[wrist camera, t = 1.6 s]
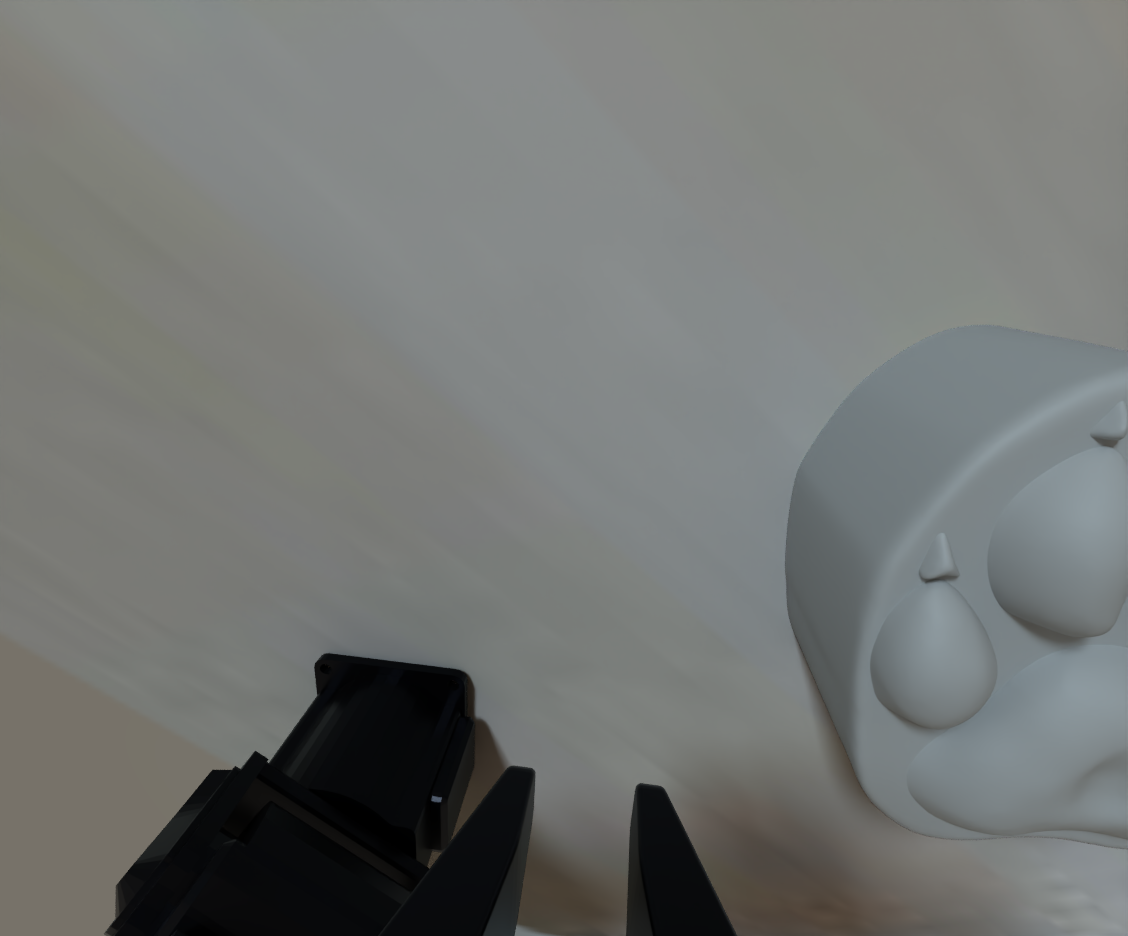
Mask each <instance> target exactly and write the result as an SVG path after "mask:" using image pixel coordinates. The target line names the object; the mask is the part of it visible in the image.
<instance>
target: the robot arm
mask: <svg viewBox="0 0 1128 936" xmlns="http://www.w3.org/2000/svg"><path fill="white" fill-rule="evenodd" d="M325 664H326V665H329V666H330V667H331V668H329V667H327V666H326V665H325ZM314 669H315V678H316V687H317V697H316V698H315V700H314V701H313V702H312V704H311V705H310V707H309V708H308V709H307V711H306V712H305V714H304V715H303V716H302V718H301V719H300V721H299V722H298V723H297V725H296V726H295V727H294V729H293V730H292V732H291V733H290V734H289V736H288V737H287V739H286V740H285V741H284V743H283V744H282V746H281V747H280V748H279V750H278V751H277V752H276V754H275V755H274V757H273V758H272V759H271V761H270V762H269V763H268V762H267V761H268V759H267V758H266V757H264V756H263V755H261V754H260V753H258V752H257V751H255V752H254V753H253V754H252V755H251V757H250V758H249V759H248V760H247V762H246V763H245V764H244V765H243V767H242V768H241V769H239V768H238V767H236V766H235V767H234V768H233V769H232V770H212V771H211V772H210V774H209V775H208V776H207V777H206V778H205V780H204V781H203V782H202V783H201V785H200V786H199V787H198V788H197V789H196V791H195V792H194V793H193V794H192V795H191V797H190V798H189V799H188V800H187V802H186V803H185V804H184V805H183V807H182V808H181V809H180V810H179V811H178V812H177V814H176V815H175V816H174V817H173V818H172V820H171V821H170V822H169V823H168V824H167V825H166V827H165V828H164V829H163V830H162V831H161V833H160V834H159V835H158V836H157V837H156V839H155V840H154V841H153V842H152V843H151V844H150V845H149V847H148V848H147V849H146V850H145V851H144V853H143V854H142V855H141V856H140V857H139V858H138V860H137V861H136V862H135V863H134V864H133V866H132V867H131V868H130V869H129V870H128V872H127V873H126V874H125V875H124V876H123V878H122V879H121V880H120V881H119V883H118V884H117V885H116V914H115V917H116V918H115V920H114V921H113V923H112V924H111V925H110V927H109V928H108V929H107V931H106V932H105V933H104V934H105V935H106V936H514V935H515V930H516V924H517V918H518V912H519V906H520V899H521V892H522V886H523V879H524V873H525V866H526V859H527V853H528V846H529V839H530V833H531V826H532V819H533V810H534V793H535V771H534V770H533V769H532V768H528V767H520V766H510V767H508V768H507V769H506V770H505V772H504V773H503V774H502V776H501V777H500V778H499V779H498V781H497V782H496V783H495V785H494V786H493V787H492V789H491V790H490V791H489V792H488V794H487V795H486V796H485V798H484V799H483V800H482V802H481V803H480V804H479V805H478V807H477V808H476V809H475V811H474V812H473V813H472V815H471V816H470V817H469V818H468V820H467V821H466V822H465V824H464V825H463V826H462V828H461V829H460V830H459V831H458V833H457V834H456V835H455V837H454V838H453V839H452V841H451V838H452V835H453V832H454V828H455V825H456V822H457V819H458V816H459V812H460V809H461V806H462V803H463V800H464V796H465V793H466V790H467V787H468V784H469V780H470V777H471V774H472V771H473V768H474V731H475V723H474V721H473V720H472V718H471V717H467V676H466V675H465V674H464V673H463V672H462V671H460V670H457V669H451V668H443V667H435V666H427V665H419V664H411V663H403V662H395V661H387V660H378V659H370V658H362V657H354V656H346V655H338V654H330V653H327V654H323V655H322V656H321V657H320V658H319V659H318V661H317V662H316V663H315V667H314ZM450 680H454V681H456V682H457V683H458V684H455V683H452V682H451V681H450ZM450 841H451V842H450ZM432 851H435V852H442V854H441V855H440V856H439V857H438V859H437V860H436V861H435V863H434V864H433V865H432V867H431V868H430V869H429V868H428V867H427V865H428V862H429V859H430V856H431V853H432ZM626 936H737V935H736V933H735V931H734V928H733V926H732V924H731V922H730V920H729V918H728V916H727V914H726V912H725V910H724V908H723V906H722V904H721V902H720V900H719V898H718V896H717V894H716V892H715V890H714V888H713V886H712V884H711V882H710V880H709V878H708V876H707V874H706V872H705V870H704V868H703V866H702V863H701V861H700V859H699V857H698V855H697V853H696V851H695V849H694V847H693V845H692V843H691V841H690V839H689V837H688V835H687V833H686V831H685V829H684V827H683V825H682V823H681V821H680V819H679V817H678V815H677V813H676V811H675V809H674V807H673V805H672V803H671V801H670V799H669V796H668V794H667V793H666V791H665V789H664V788H663V787H661V786H658V785H650V784H643V783H640V784H638V785H637V786H636V789H635V795H634V803H633V810H632V817H631V826H630V842H629V871H628V899H627V928H626Z"/></svg>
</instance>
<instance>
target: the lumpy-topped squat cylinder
mask: <svg viewBox="0 0 1128 936" xmlns="http://www.w3.org/2000/svg"><path fill="white" fill-rule="evenodd" d="M785 573H786V593H787V608H788V615H789V619H790V623H791V626H792V628H793V631H794V633H795V635H796V638H797V640H798V642H799V645H800V647H801V649H802V652H803V654H804V656H805V659H806V661H807V663H808V666H809V668H810V670H811V673H812V675H813V677H814V680H815V682H816V684H817V687H818V689H819V691H820V693H821V696H822V698H823V700H824V703H825V705H826V707H827V709H828V712H829V714H830V716H831V719H832V721H833V723H834V726H835V728H836V730H837V732H838V735H839V737H840V739H841V741H842V743H843V746H844V748H845V750H846V752H847V755H848V757H849V759H850V762H851V765H852V767H853V770H854V772H855V774H856V777H857V779H858V781H859V783H860V785H861V787H862V789H863V790H864V792H865V793H866V795H867V796H868V798H869V799H870V800H871V801H872V803H873V804H874V805H875V806H876V807H878V808H879V809H880V810H881V811H882V812H883V813H884V814H885V815H886V816H888V817H889V818H891V819H892V820H893V821H895V822H896V823H898V824H899V825H901V826H903V827H905V828H906V829H908V830H910V831H913V832H915V833H918V834H922V835H925V836H929V837H935V838H941V839H951V840H982V839H995V838H1009V837H1044V838H1058V839H1066V840H1072V841H1078V842H1083V843H1088V844H1094V845H1100V846H1104V847H1112V848H1120V849H1128V351H1126V350H1121V349H1116V348H1111V347H1105V346H1100V345H1096V344H1092V343H1087V342H1081V341H1076V340H1071V339H1066V338H1060V337H1055V336H1050V335H1044V334H1039V333H1034V332H1028V331H1023V330H1018V329H1012V328H1007V327H1002V326H994V325H971V326H963V327H957V328H953V329H949V330H945V331H942V332H939V333H937V334H934V335H932V336H929V337H927V338H925V339H923V340H921V341H919V342H917V343H915V344H913V345H912V346H910V347H908V348H907V349H905V350H903V351H902V352H900V353H899V354H897V355H896V356H894V357H893V358H891V359H890V360H888V361H887V362H886V363H884V364H883V365H882V366H880V367H879V368H878V369H876V370H875V371H874V372H872V373H871V374H870V375H869V376H868V377H866V378H865V379H864V380H863V381H862V382H861V383H860V384H859V385H858V386H857V387H856V388H855V389H854V390H853V391H852V392H851V393H850V394H849V396H848V397H847V398H846V399H845V400H844V402H843V403H842V404H841V405H840V407H839V408H838V409H837V410H836V412H835V413H834V414H833V416H832V417H831V418H830V420H829V421H828V423H827V424H826V425H825V427H824V428H823V430H822V431H821V432H820V434H819V435H818V437H817V438H816V440H815V441H814V443H813V444H812V446H811V447H810V449H809V451H808V452H807V454H806V455H805V457H804V459H803V460H802V462H801V464H800V466H799V469H798V471H797V474H796V478H795V482H794V486H793V491H792V497H791V503H790V509H789V517H788V526H787V537H786V552H785Z"/></svg>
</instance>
